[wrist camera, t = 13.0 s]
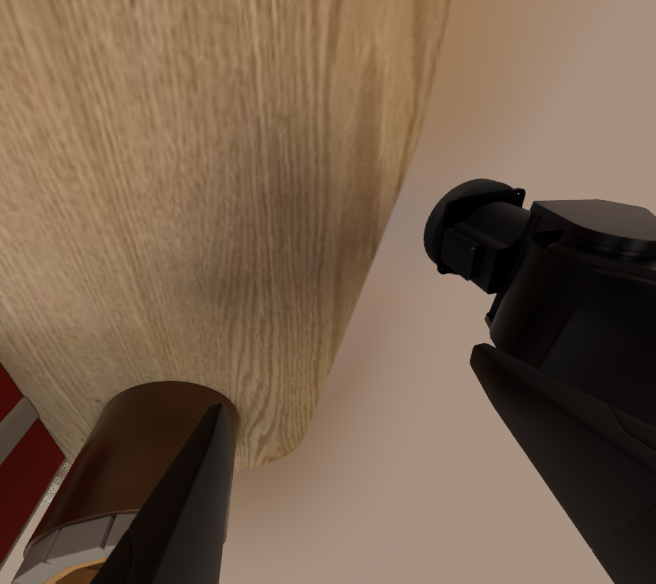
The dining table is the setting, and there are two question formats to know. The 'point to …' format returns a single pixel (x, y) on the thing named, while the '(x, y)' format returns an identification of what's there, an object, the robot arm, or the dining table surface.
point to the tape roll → (72, 552)
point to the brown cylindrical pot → (130, 454)
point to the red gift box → (22, 464)
